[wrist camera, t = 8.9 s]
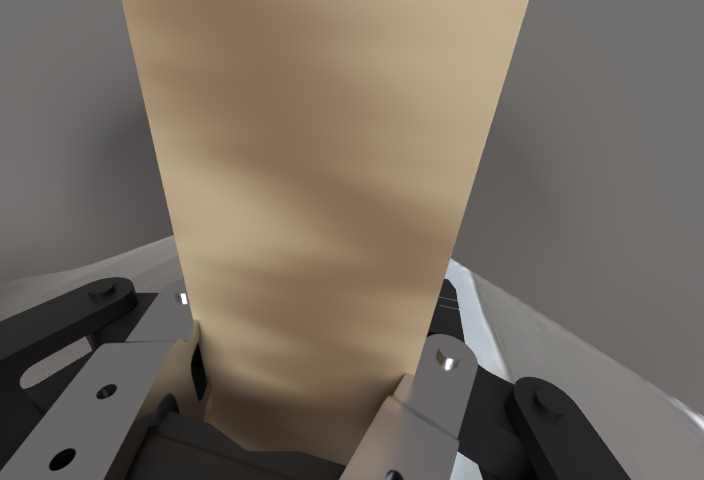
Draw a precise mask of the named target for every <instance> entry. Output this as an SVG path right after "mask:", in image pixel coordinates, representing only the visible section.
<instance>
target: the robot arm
mask: <svg viewBox="0 0 704 480" xmlns="http://www.w3.org/2000/svg"><path fill="white" fill-rule="evenodd" d="M84 336H86V338H87V340H88V342H89V344H90V346H91V348H92V350H93V351H91V352H90V353H88V354H86V355H85V356H83V357H81V358H80V359H78V360H76V361H75V362H73V363H71V364H70V365H68V366H66V367H65V368H63V369H61V370H60V371H58V372H56V373H55V374H53V375H51V376H50V377H48V378H46V379H45V380H43V381H41V382H40V383H38V384H36V385H34V386H32V387H30V388H26V389H22V388H21V386H20V378H21V376H22V375H23V373H24V372H25V371H26V370H27V369H28V368H29V367H31V366H32V365H34V364H35V363H37V362H39V361H41V360H43V359H44V358H46V357H48V356H50V355H52V354H53V353H55V352H57V351H59V350H61V349H63V348H64V347H66V346H68V345H70V344H72V343H73V342H75V341H77V340H79V339H81V338H82V337H84ZM200 336H201V331H200V326H199V322H198V320H196V319H193V316H192V312H191V308H190V303H189V299H188V294H187V290H186V285H185V281H184V279H182V280H179V281H176V282H173V283H171V284H169V285H168V286H166V287H165V288H163V289H162V290H161V292H160V293H136V292H135V289H134V286H133V283H132V282H131V281H130V280H129V279H126V278H120V277H113V278H106V279H101V280H97V281H94V282H91V283H89V284H86V285H84V286H82V287H79V288H77V289H75V290H72V291H70V292H68V293H66V294H63V295H61V296H59V297H56V298H54V299H52V300H49V301H47V302H45V303H42V304H40V305H38V306H35V307H33V308H31V309H28V310H26V311H24V312H21V313H19V314H17V315H14V316H12V317H10V318H7V319H5V320H3V321H0V480H450V476H451V473H452V469H453V466H454V462H455V458H456V455H457V451H458V452H459V453H461V454H462V455H464V456H466V457H467V458H469V459H470V460H472V461H473V462H475V463H476V464H478V466H479V470H480V472H481V475H482V478H483V480H631V479H630V478H629V476H628V475H627V473H626V472H625V471H624V469H623V468H622V466H621V465H620V464H619V462H618V461H617V460H616V458H615V457H614V455H613V454H612V453H611V451H610V450H609V449H608V447H607V446H606V444H605V443H604V442H603V440H602V439H601V437H600V436H599V435H598V433H597V432H596V431H595V429H594V428H593V426H592V425H591V424H590V422H589V421H588V420H587V418H586V417H585V415H584V414H583V413H582V411H581V410H580V409H579V407H578V406H577V405H576V403H575V402H574V401H573V400H572V399H571V398H570V397H569V396H568V395H567V394H566V393H565V392H563V391H562V390H561V389H559V388H558V387H556V386H555V385H553V384H551V383H549V382H547V381H545V380H542V379H539V378H535V377H524V378H521V379H519V380H518V381H517V382H516V383H515V385H514V384H512V383H510V382H508V381H506V380H504V379H502V378H500V377H498V376H496V375H494V374H492V373H490V372H488V371H487V370H485V369H484V368H482V367H481V366H480V365H479V364H478V362H477V359H476V356H475V354H474V353H473V351H472V350H471V349H470V348H469V347H468V346H467V345H466V344H465V341H464V335H463V329H462V323H461V317H460V311H459V306H458V302H457V294H456V289H455V288H454V286H453V285H452V284H451V283H450V281H449V280H448V279H444V280H443V284H442V287H441V290H440V294H439V297H438V300H437V303H436V307H435V310H434V313H433V317H432V320H431V323H430V326H429V330H428V333H427V336H426V340H425V343H424V346H423V349H422V353H421V356H420V359H419V363H418V366H417V369H416V372H415V375H413V374H409V373H405V375H404V377H403V379H402V381H401V382H400V384H399V386H398V388H397V390H396V391H395V393H394V395H393V396H388V397H387V399H386V400H385V401H384V403H383V405H382V406H381V408H380V410H379V411H378V413H377V415H376V417H375V418H374V420H373V422H372V424H371V425H370V427H369V429H368V430H367V432H366V434H365V436H364V437H363V439H362V441H361V443H360V444H359V446H358V448H357V450H356V451H355V453H354V455H353V457H352V458H351V460H350V462H349V463H348V465H347V467H346V466H345V465H342V464H339V463H336V462H333V461H329V460H326V459H323V458H320V457H316V456H313V455H310V454H307V453H304V452H300V451H248V450H245V449H243V448H242V447H241V446H239V445H238V444H237V443H235V442H234V441H233V440H231V439H230V438H229V437H227V436H226V435H225V434H223V433H222V432H221V431H219V430H218V429H217V428H216V427H214V426H213V425H212V424H210V423H207V422H204V418H205V411H206V407H207V403H208V400H209V397H210V394H211V391H212V383H211V378H210V376H207V375H206V374H205V370H204V366H203V361H202V357H201V352H200V348H199V343H198V341H199V338H200Z"/></svg>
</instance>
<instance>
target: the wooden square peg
mask: <svg viewBox="0 0 704 480" xmlns="http://www.w3.org/2000/svg"><path fill="white" fill-rule="evenodd" d="M528 1H529V0H122V3H123V8H124V13H125V17H126V22H127V26H128V31H129V35H130V40H131V44H132V48H133V53H134V57H135V62H136V66H137V71H138V75H139V80H140V84H141V89H142V93H143V98H144V102H145V107H146V111H147V115H148V120H149V124H150V129H151V133H152V138H153V142H154V147H155V151H156V156H157V160H158V165H159V169H160V174H161V178H162V182H163V187H164V191H165V196H166V200H167V205H168V209H169V213H170V218H171V223H172V227H173V232H174V236H175V241H176V245H177V249H178V254H179V258H180V263H181V267H182V272H183V276H184V281H185V285H186V290H187V294H188V299H189V303H190V308H191V312H192V316H193V319H196V320H198V322H199V326H200V331H201V336H200V338H199V341H198V343H199V348H200V352H201V357H202V361H203V366H204V370H205V374H206V375H207V376H210V378H211V383H212V391H211V394H210V397H211V401H212V406H213V410H214V415H215V419H216V424H217V428H218V430H219V431H221V432H222V433H223V434H225V435H226V436H227V437H229V438H230V439H231V440H233V441H234V442H235V443H237V444H238V445H239V446H241V447H242V448H243V449H245V450H248V451H300V452H304V453H307V454H310V455H313V456H316V457H320V458H323V459H326V460H329V461H333V462H336V463H339V464H342V465H345V466H346V467H347V465H348V463H349V462H350V460H351V458H352V457H353V455H354V453H355V451H356V450H357V448H358V446H359V444H360V443H361V441H362V439H363V437H364V436H365V434H366V432H367V430H368V429H369V427H370V425H371V424H372V422H373V420H374V418H375V417H376V415H377V413H378V411H379V410H380V408H381V406H382V405H383V403H384V401H385V400H386V399H387V397H388V396H393V395H394V393H395V391H396V390H397V388H398V386H399V384H400V382H401V381H402V379H403V377H404V375H405V373H409V374H413V375H415V372H416V369H417V366H418V363H419V359H420V356H421V353H422V349H423V346H424V343H425V340H426V336H427V333H428V330H429V326H430V323H431V320H432V317H433V313H434V310H435V307H436V303H437V300H438V297H439V294H440V290H441V287H442V284H443V280H444V277H445V274H446V271H447V267H448V264H449V261H450V257H451V254H452V251H453V247H454V244H455V241H456V238H457V234H458V231H459V227H460V224H461V221H462V218H463V214H464V211H465V208H466V205H467V201H468V198H469V195H470V192H471V188H472V185H473V181H474V178H475V175H476V172H477V168H478V165H479V162H480V159H481V155H482V152H483V149H484V146H485V142H486V139H487V136H488V132H489V129H490V126H491V123H492V119H493V116H494V113H495V109H496V106H497V103H498V99H499V96H500V93H501V90H502V86H503V83H504V79H505V77H506V73H507V70H508V67H509V63H510V60H511V57H512V54H513V50H514V47H515V44H516V40H517V37H518V34H519V31H520V27H521V24H522V20H523V17H524V14H525V10H526V7H527V4H528Z"/></svg>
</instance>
